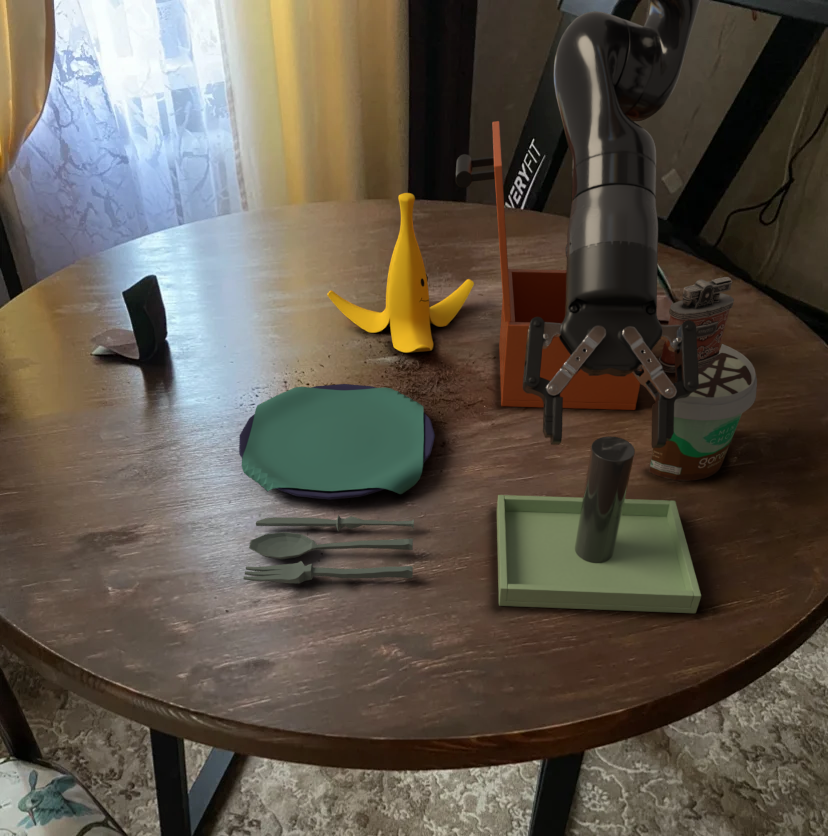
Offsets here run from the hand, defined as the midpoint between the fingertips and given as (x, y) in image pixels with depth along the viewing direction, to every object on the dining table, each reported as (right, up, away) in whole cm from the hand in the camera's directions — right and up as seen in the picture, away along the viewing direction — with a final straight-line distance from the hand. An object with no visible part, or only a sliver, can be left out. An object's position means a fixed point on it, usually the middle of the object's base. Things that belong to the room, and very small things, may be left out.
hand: (607, 445), depth 70 cm
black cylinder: (0, -9, +4) cm, 10 cm away
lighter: (+16, +13, +29) cm, 36 cm away
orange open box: (+1, +11, +27) cm, 29 cm away
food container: (+13, -1, +14) cm, 19 cm away
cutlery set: (-24, -2, +13) cm, 27 cm away
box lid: (-7, +25, +15) cm, 30 cm away
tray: (-1, -10, +4) cm, 10 cm away
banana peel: (-19, +19, +36) cm, 45 cm away
